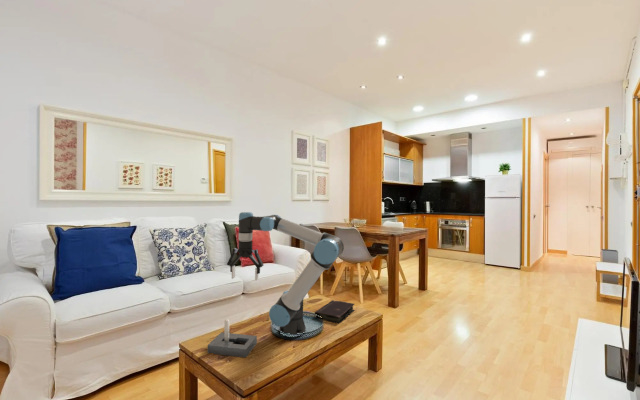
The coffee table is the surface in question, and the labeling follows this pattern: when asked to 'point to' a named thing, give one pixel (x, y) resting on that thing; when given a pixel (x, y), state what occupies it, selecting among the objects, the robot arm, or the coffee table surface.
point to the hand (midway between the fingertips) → (244, 278)
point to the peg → (226, 330)
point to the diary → (335, 311)
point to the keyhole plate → (232, 345)
